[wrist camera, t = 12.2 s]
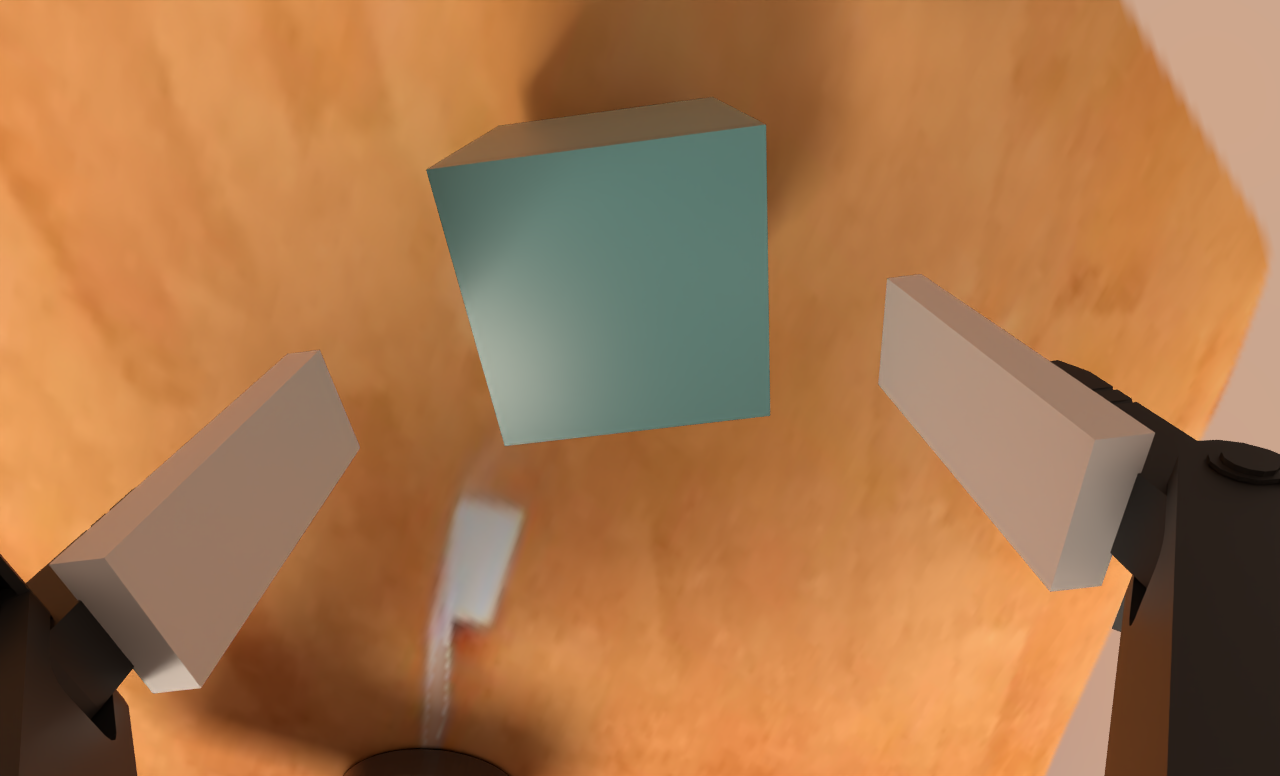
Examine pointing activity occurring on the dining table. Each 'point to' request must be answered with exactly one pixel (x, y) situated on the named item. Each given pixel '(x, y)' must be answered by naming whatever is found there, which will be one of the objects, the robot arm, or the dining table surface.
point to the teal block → (614, 268)
